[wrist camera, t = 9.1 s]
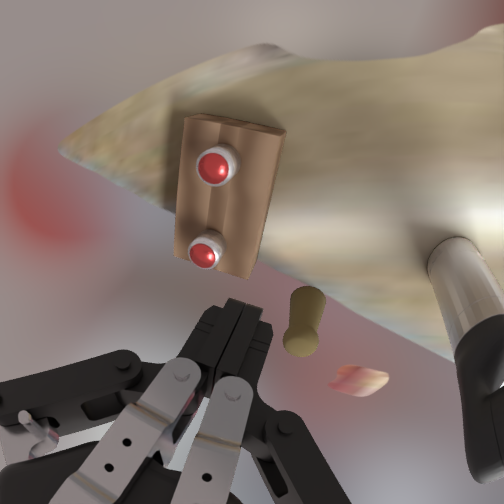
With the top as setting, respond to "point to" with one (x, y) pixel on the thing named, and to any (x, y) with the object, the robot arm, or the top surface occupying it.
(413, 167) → the top surface
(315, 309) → the cork
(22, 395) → the robot arm
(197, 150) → the console
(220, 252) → the knob
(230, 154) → the knob
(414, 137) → the top surface
